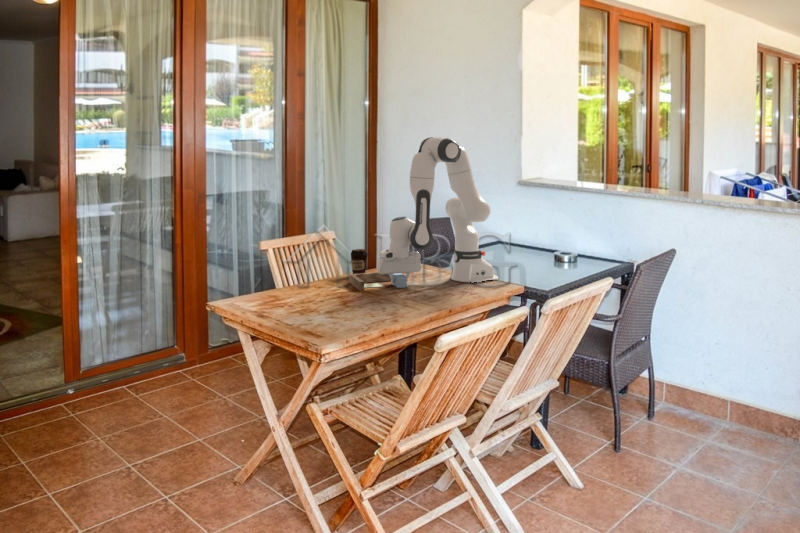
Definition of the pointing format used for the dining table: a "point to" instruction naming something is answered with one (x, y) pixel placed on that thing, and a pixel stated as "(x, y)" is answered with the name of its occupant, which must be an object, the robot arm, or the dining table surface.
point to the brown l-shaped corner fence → (367, 280)
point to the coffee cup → (359, 260)
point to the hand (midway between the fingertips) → (399, 282)
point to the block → (400, 280)
